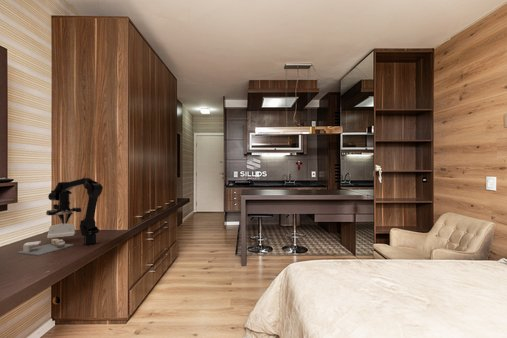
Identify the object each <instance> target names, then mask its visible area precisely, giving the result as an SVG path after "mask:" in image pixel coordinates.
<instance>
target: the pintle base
mask: <svg viewBox="0 0 507 338" xmlns="http://www.w3.org/2000/svg"><path fill="white" fill-rule="evenodd" d="M62 241H64V240H63V239H59V242H62ZM40 244H42V241H41V240H37V241H31V242H25V243H24V244H23V248H22V249H23V250H20V251H16V254H20V255H21V254H22V255H29V256H30V255H31V256H38V257H40V256H43V255H47V254H50V253H53V252H56V251H59V250H64V249H67V248H70V247H73V246H75V245H74V243H72V244H70V243H65V246H64V247H57V246H55V245H53V244H51V242H49V243H46V244H43V245H40ZM33 246H35V247H33Z"/></svg>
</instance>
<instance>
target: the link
mask: <svg viewBox="0 0 507 338" xmlns="http://www.w3.org/2000/svg"><path fill="white" fill-rule="evenodd" d="M59 240H60V239H59V238H58V237H54V238H51V239H50V243H51V244H53V245H55V246H57V247H64V246H65V244H66V242H65V241H66V240H63V241H62V242H59Z"/></svg>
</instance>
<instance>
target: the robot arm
mask: <svg viewBox="0 0 507 338" xmlns="http://www.w3.org/2000/svg"><path fill="white" fill-rule="evenodd" d="M80 186H83V187H84V189H86V191H87V192H86V194H87V195H88V200H87V206H86V211H85V218H83V219H82V220H80V221H79V230H80V233H81V236H83V237H84V242H83V243H82V245H83V246H84V245H85V246H91V245H94V244H98V243H99V241H97V234H99V232H100V229H99V228H98V227H97V226H96V224H97V223H96V221H95V215H96V208H97V203H98V199H99V197H100V195H102V192H103V189H104V188H103V185H102V184H101V183H99V182H98V181H96V180H93V179H92V178H90V177H83V178H80V179H76V180H71V181H62V182H61V181H60V182H57V185H56V187H55V188H54V189H53V190H51V192H49V194H48V197H47V198H48V199H49V201H55V202H57V201H58V204H56V203H55V204H53V205H52V209H48V210H46V212H45V215H46V216H58V218H59V219H60V222H61V224H64V223H65V224H67V223H68V221H69V219H70V218H71V216H72V215H73V214H74V212H75V213H82V208H81V207H80V206H79V207H77V206H76V207H71V208H70V205H71V202H70V195H71V194H73V192H72V191H71V190H72V189H74V188H75V187H80ZM64 213H65V214H64ZM64 216H65V217H64Z"/></svg>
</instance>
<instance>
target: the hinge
mask: <svg viewBox="0 0 507 338" xmlns="http://www.w3.org/2000/svg"><path fill="white" fill-rule="evenodd" d="M75 227H76V226H75V224H73V223H68V222H67V224H65V222H64V224H62V223H56V224H53V225H50V226H49V227H48V233H47V237H46V238H47V239H50V238H51V239H54V238H61V237H71V236H75V235H76V229H75Z"/></svg>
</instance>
